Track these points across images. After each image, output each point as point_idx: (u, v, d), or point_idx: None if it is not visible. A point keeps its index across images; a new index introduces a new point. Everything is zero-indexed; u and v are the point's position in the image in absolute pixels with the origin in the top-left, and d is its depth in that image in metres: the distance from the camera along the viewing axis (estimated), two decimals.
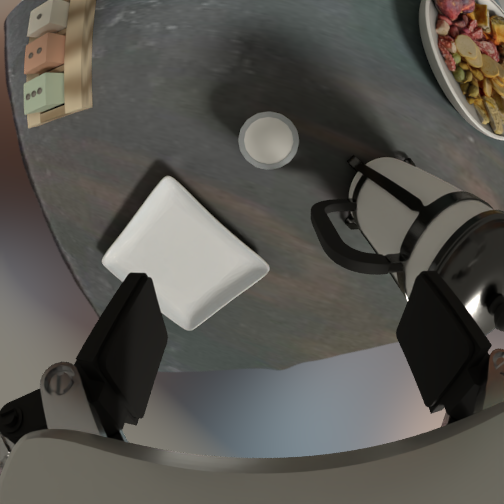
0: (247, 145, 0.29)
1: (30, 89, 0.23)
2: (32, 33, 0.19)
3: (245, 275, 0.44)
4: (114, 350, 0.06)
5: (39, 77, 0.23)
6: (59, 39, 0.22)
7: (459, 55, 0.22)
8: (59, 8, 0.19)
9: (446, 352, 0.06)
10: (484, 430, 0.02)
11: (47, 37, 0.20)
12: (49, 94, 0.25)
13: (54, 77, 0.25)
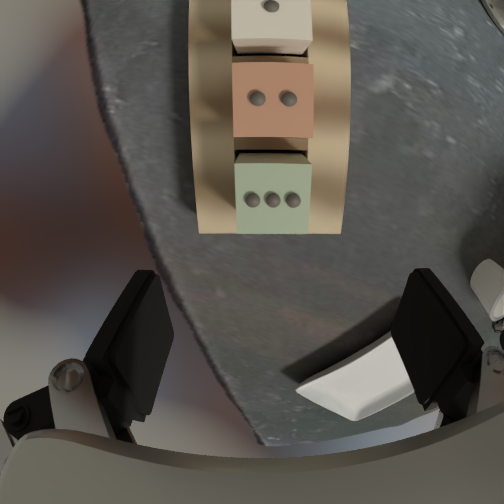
0: (496, 307, 0.24)
1: (259, 185, 0.18)
2: (251, 38, 0.13)
3: None
4: (123, 346, 0.06)
5: (292, 168, 0.18)
6: None
7: None
8: None
9: (439, 349, 0.06)
10: (484, 430, 0.02)
11: (313, 77, 0.15)
12: None
13: None
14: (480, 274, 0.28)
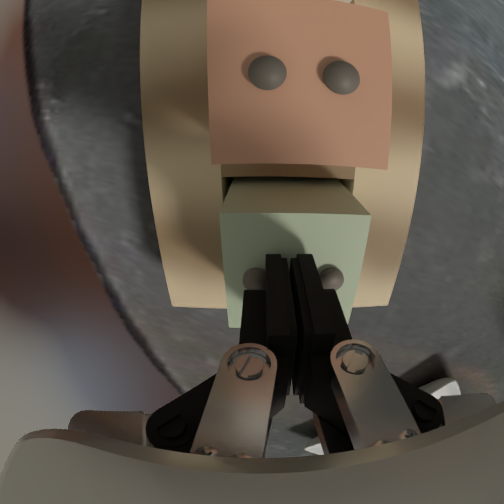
0: None
1: None
2: None
3: None
4: None
5: (334, 223, 0.09)
6: None
7: None
8: None
9: (297, 336, 0.07)
10: (484, 430, 0.02)
11: (389, 37, 0.05)
12: None
13: None
14: None
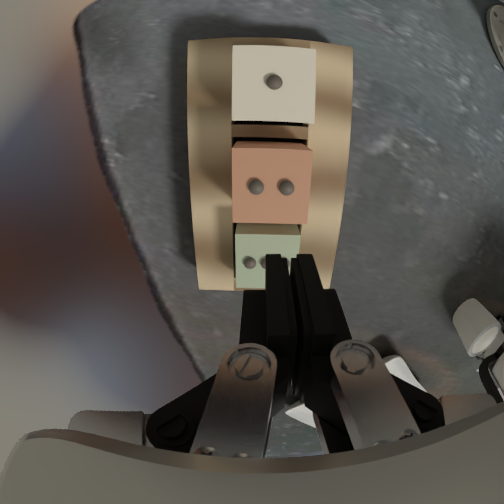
0: (474, 345, 0.27)
1: (255, 252, 0.22)
2: (252, 120, 0.16)
3: None
4: None
5: (283, 238, 0.22)
6: None
7: None
8: None
9: (297, 336, 0.07)
10: (484, 430, 0.02)
11: (311, 164, 0.17)
12: None
13: None
14: (462, 313, 0.31)
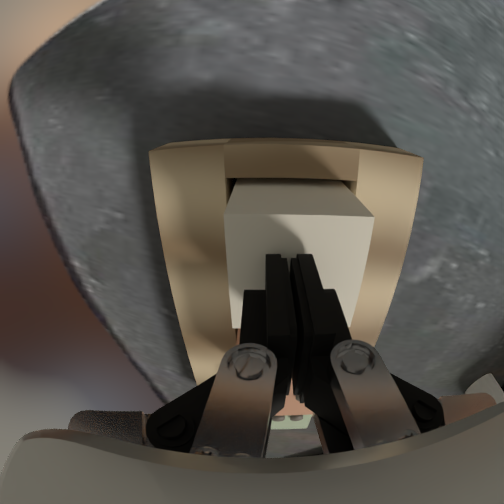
0: None
1: None
2: None
3: None
4: None
5: None
6: None
7: None
8: None
9: (297, 336, 0.07)
10: (484, 430, 0.02)
11: None
12: None
13: None
14: (475, 391, 0.25)
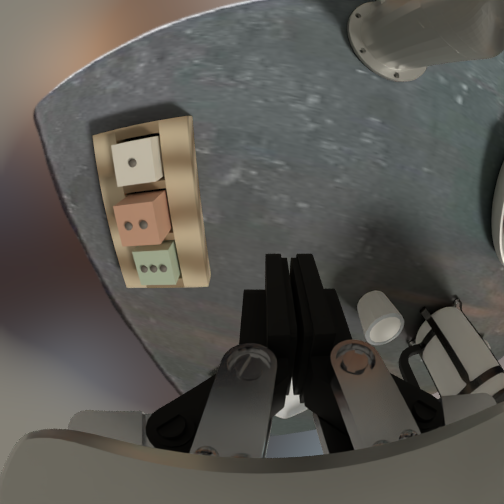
0: (371, 334, 0.38)
1: (145, 262, 0.34)
2: (126, 185, 0.29)
3: None
4: None
5: (159, 252, 0.34)
6: (162, 201, 0.31)
7: None
8: (158, 151, 0.30)
9: (297, 336, 0.07)
10: (484, 430, 0.02)
11: (153, 209, 0.29)
12: (175, 270, 0.36)
13: (173, 248, 0.36)
14: (362, 304, 0.42)
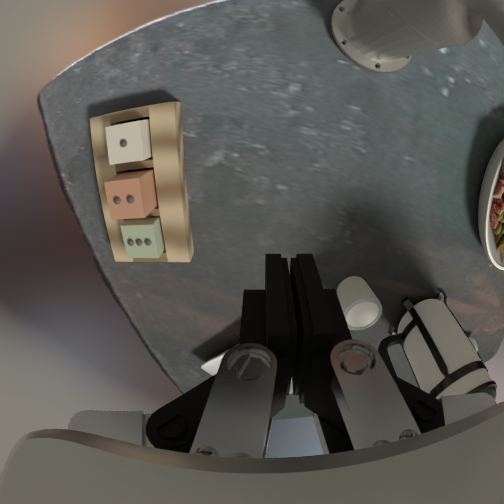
0: (347, 318, 0.40)
1: (132, 235, 0.36)
2: (117, 163, 0.31)
3: None
4: None
5: (144, 227, 0.35)
6: (149, 179, 0.33)
7: (503, 214, 0.33)
8: (147, 133, 0.31)
9: (297, 336, 0.07)
10: (484, 430, 0.02)
11: (140, 185, 0.30)
12: (159, 245, 0.38)
13: (158, 223, 0.37)
14: (340, 289, 0.44)
